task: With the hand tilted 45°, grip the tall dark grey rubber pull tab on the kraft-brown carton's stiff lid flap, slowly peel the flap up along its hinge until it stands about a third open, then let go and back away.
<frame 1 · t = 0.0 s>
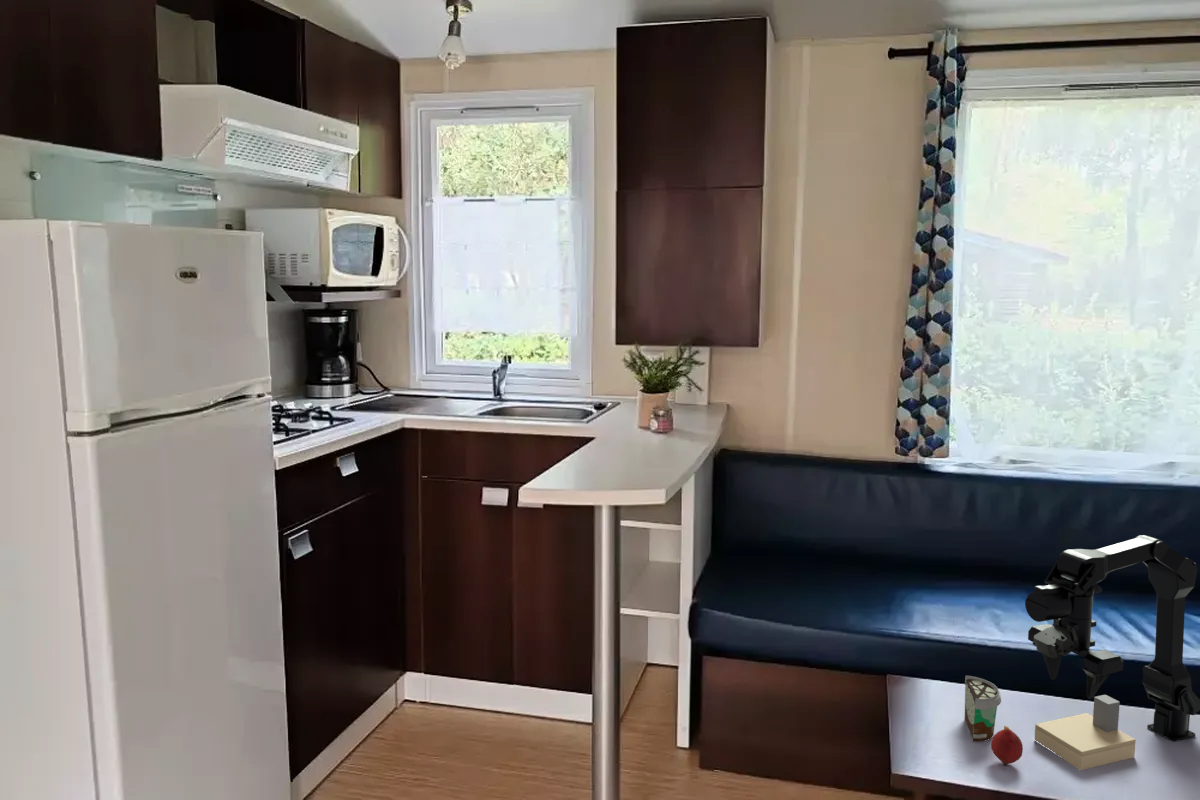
hand: (1071, 688, 186), 15 cm above the table, tool pointing down, fingers open, 9 cm apart
onion: (1005, 764, 185), on the table
food container: (983, 732, 198), on the table
carton flap: (1085, 719, 190), point 7 cm above the table, hinge at 0.0°
carton: (1083, 749, 190), on the table
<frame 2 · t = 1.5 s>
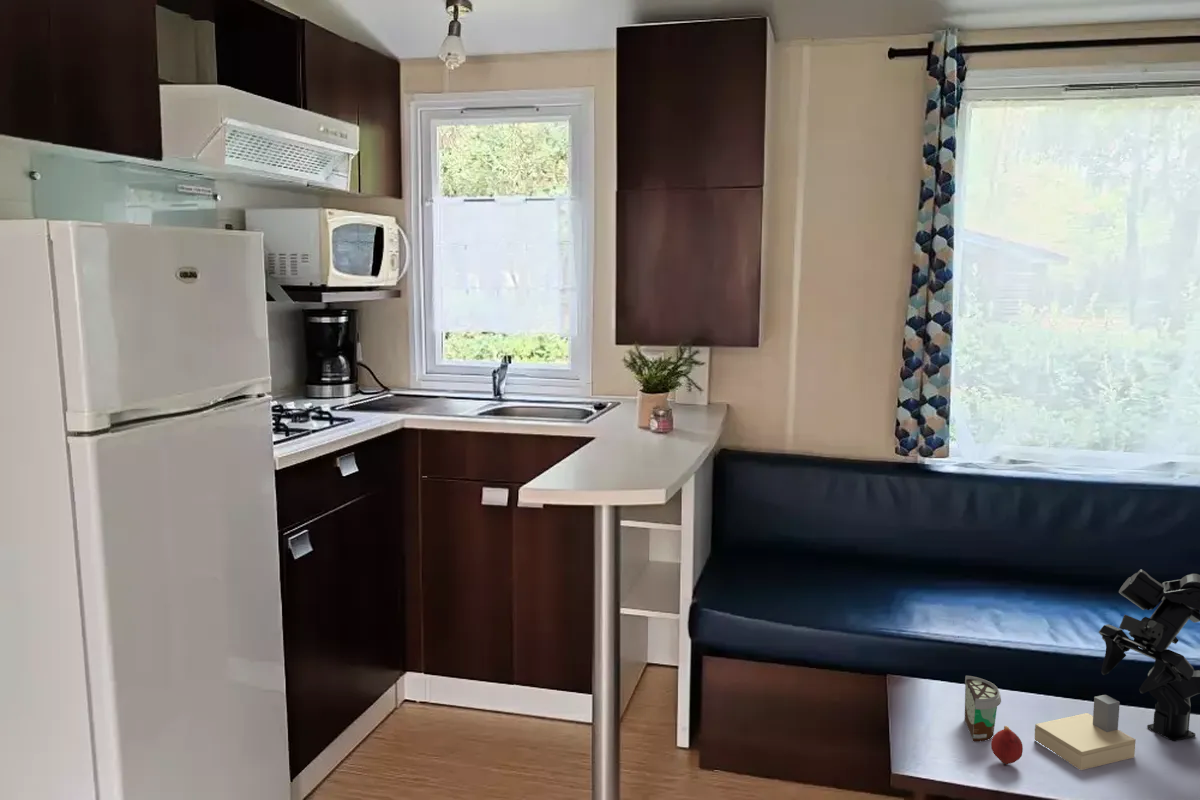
hand: (1121, 682, 191), 13 cm above the table, tool tilted 45°, fingers open, 9 cm apart
nothing on the table moved.
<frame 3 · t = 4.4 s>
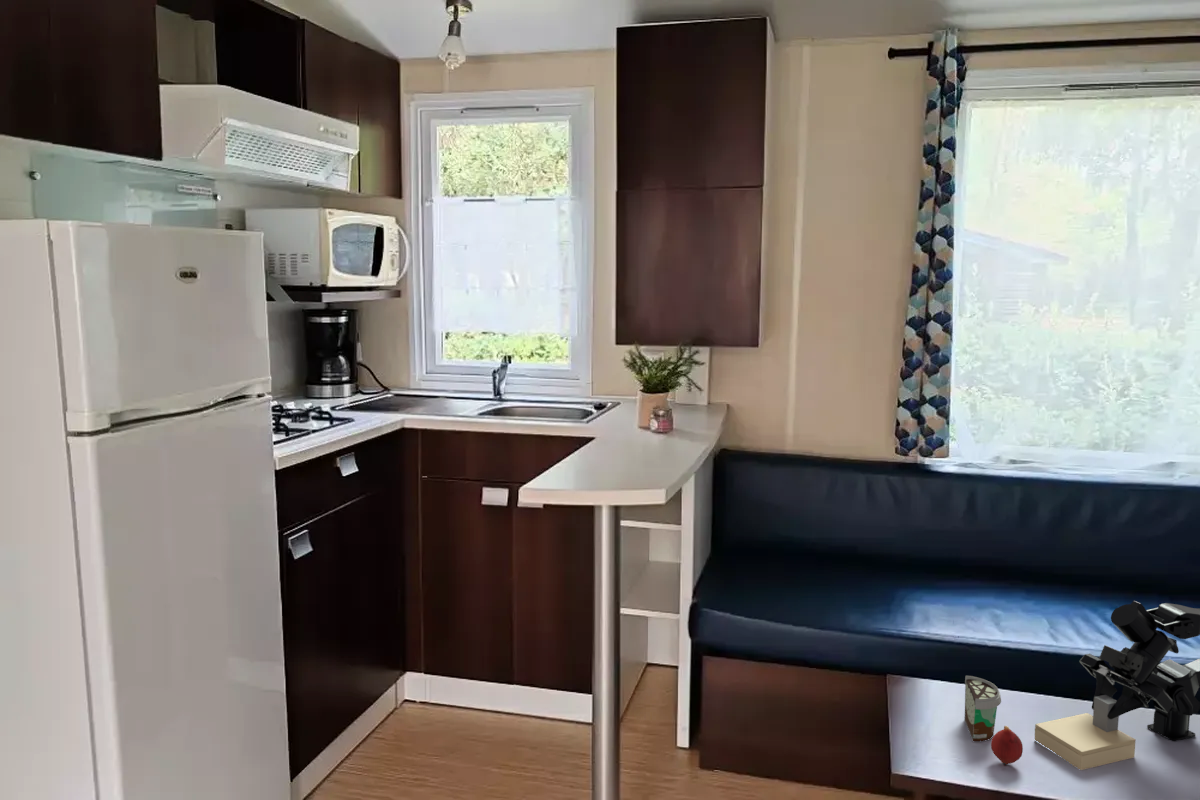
hand: (1100, 713, 191), 7 cm above the table, tool tilted 45°, fingers closed on carton flap, 3 cm apart
carton flap: (1085, 719, 190), point 7 cm above the table, hinge at 0.0°, touching gripper
everything else where it was.
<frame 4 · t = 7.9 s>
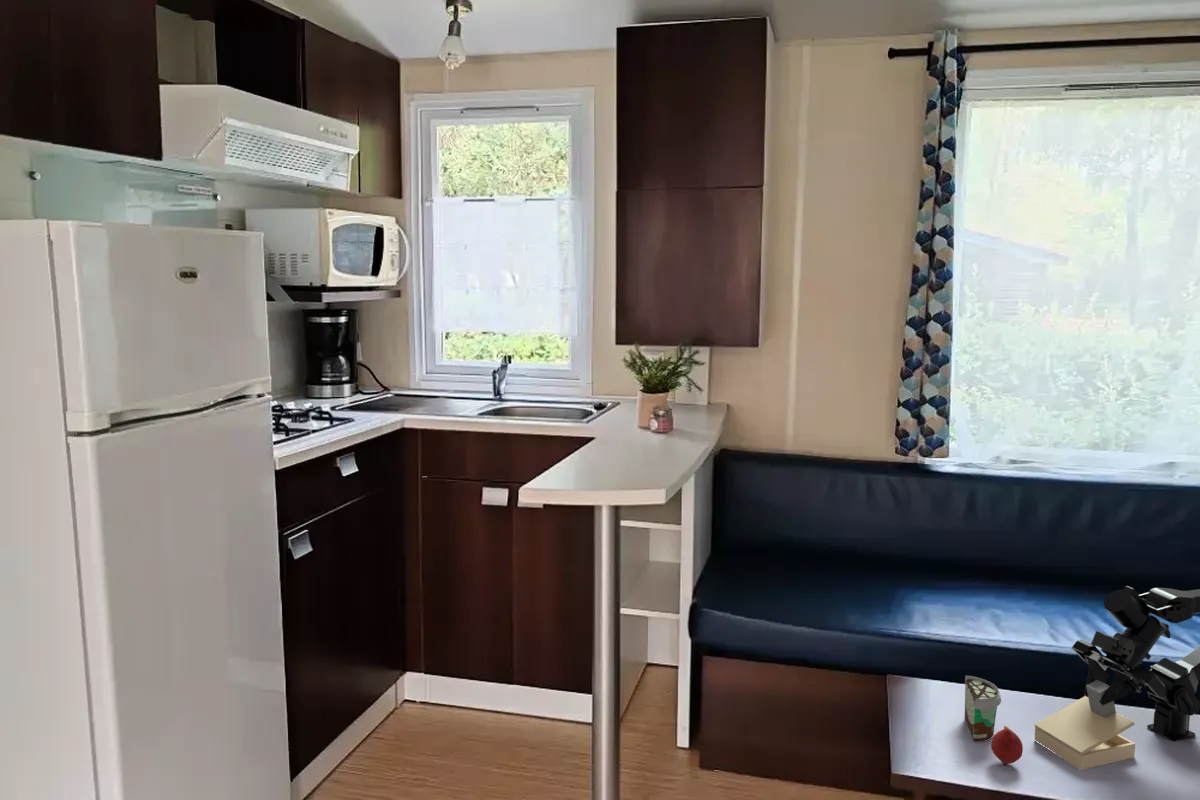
hand: (1093, 699, 190), 11 cm above the table, tool tilted 45°, fingers closed on carton flap, 3 cm apart
carton flap: (1080, 711, 189), point 8 cm above the table, hinge at 16.9°, touching gripper
everything else where it was.
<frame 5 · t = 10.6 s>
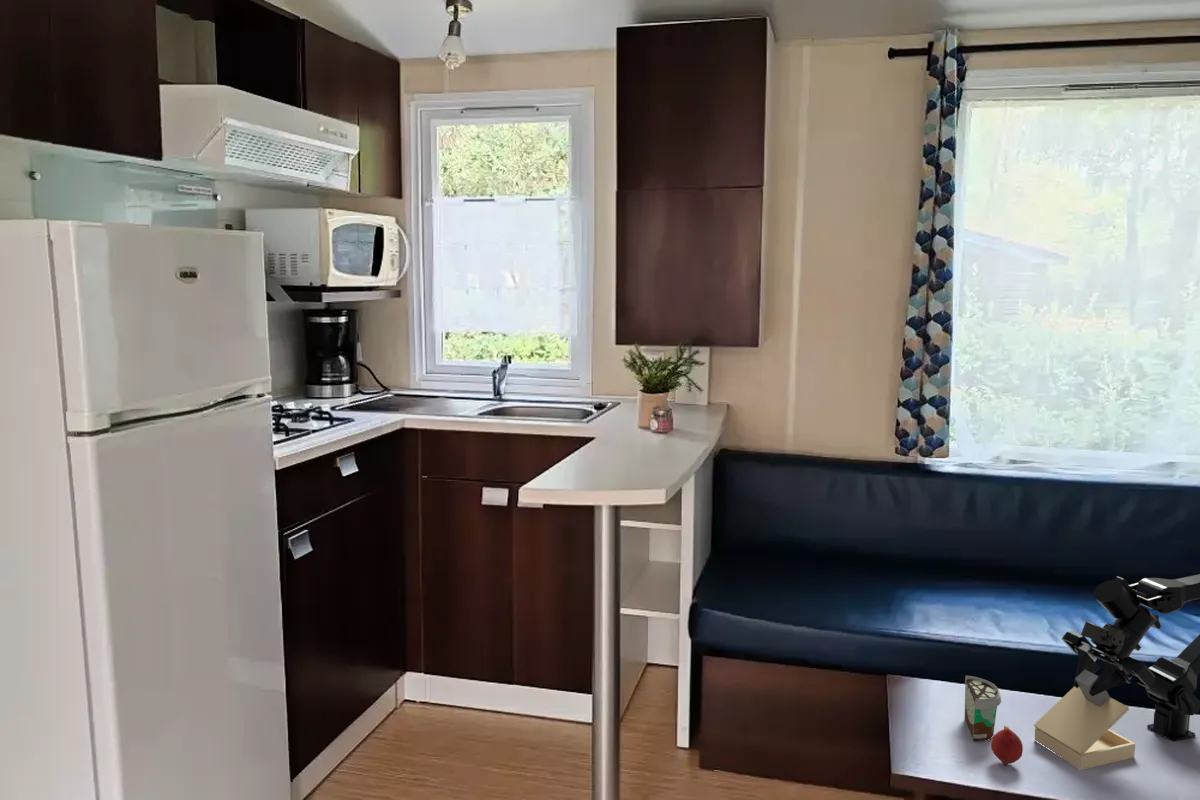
hand: (1082, 690, 188), 13 cm above the table, tool tilted 45°, fingers closed on carton flap, 3 cm apart
carton flap: (1074, 706, 188), point 10 cm above the table, hinge at 33.2°, touching gripper
everything else where it was.
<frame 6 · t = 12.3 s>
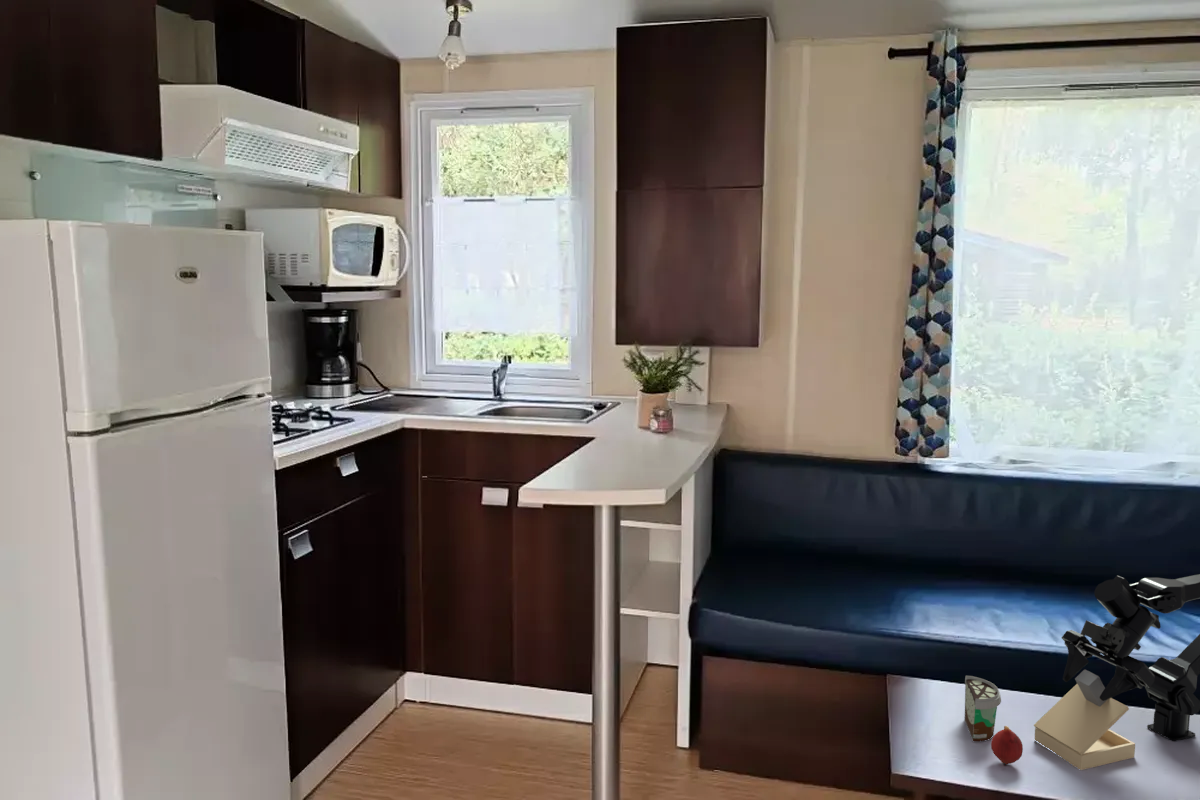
hand: (1082, 689, 188), 13 cm above the table, tool tilted 45°, fingers open, 9 cm apart
carton flap: (1074, 706, 188), point 10 cm above the table, hinge at 33.5°
everything else where it was.
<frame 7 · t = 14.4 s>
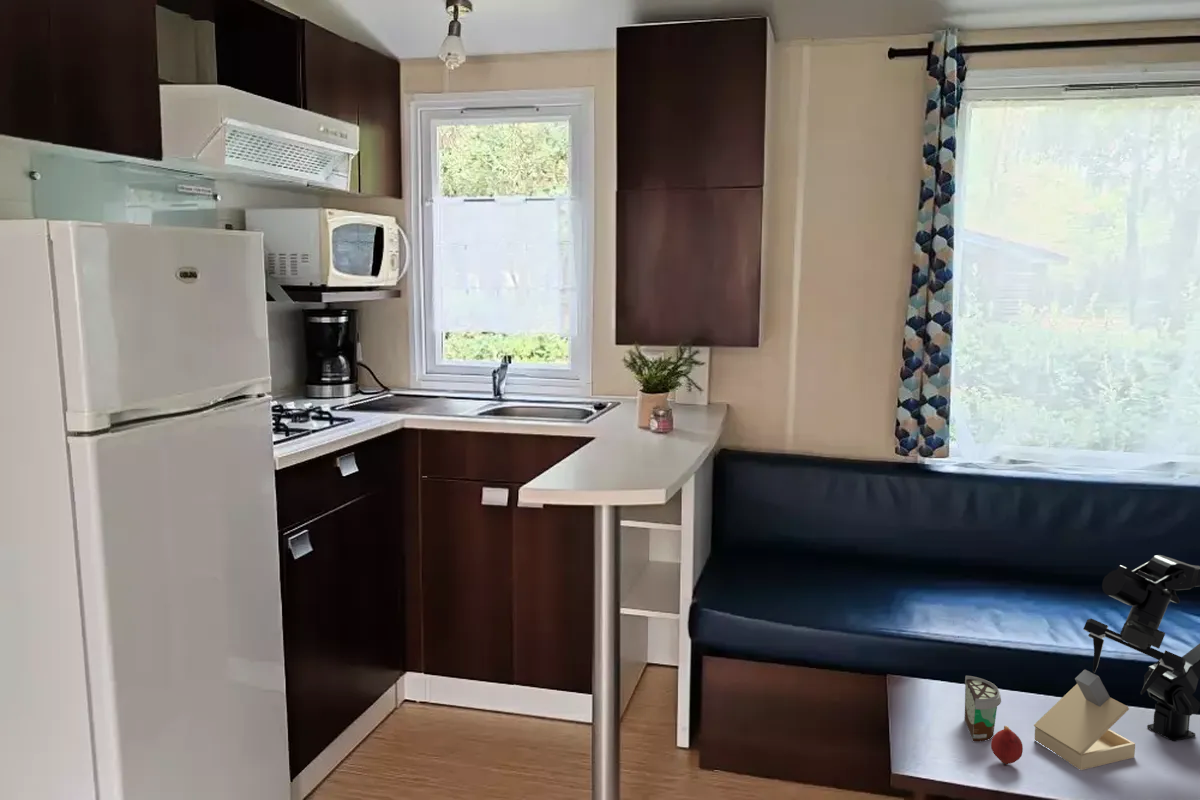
hand: (1117, 682, 191), 13 cm above the table, tool tilted 25°, fingers open, 9 cm apart
nothing on the table moved.
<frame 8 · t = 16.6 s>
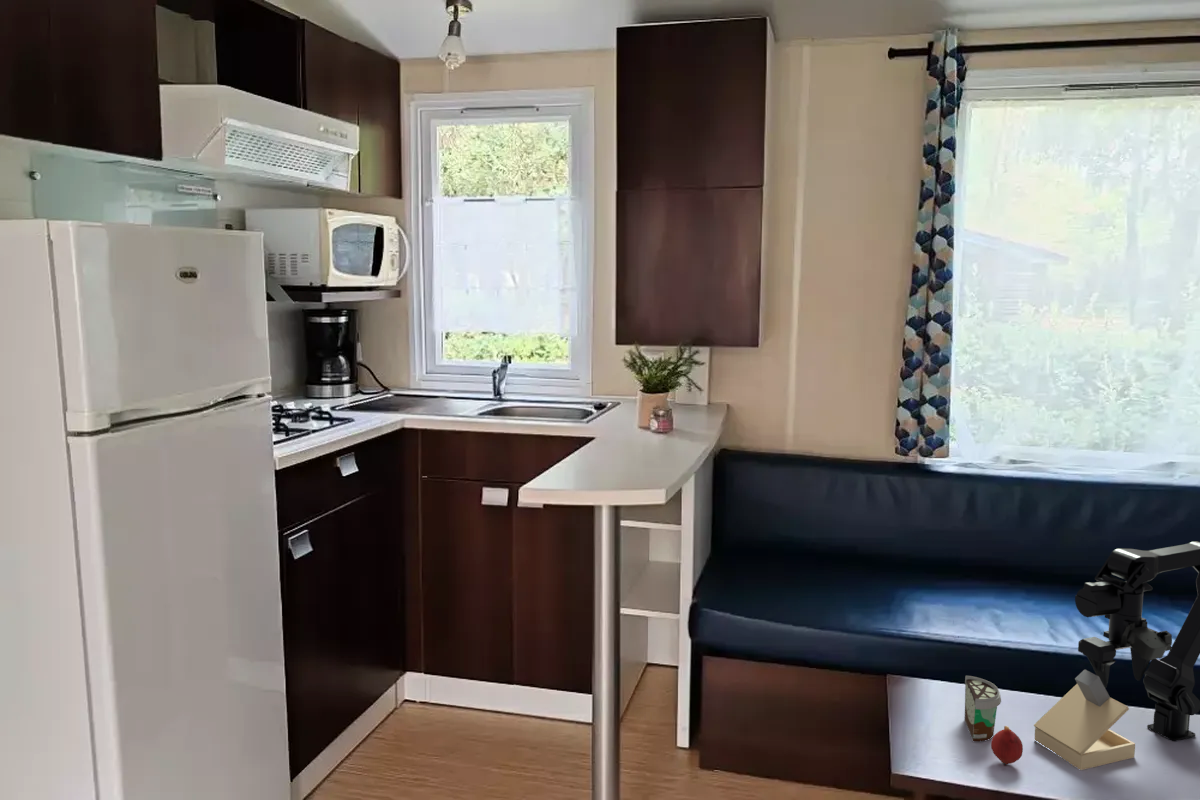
hand: (1120, 683, 191), 13 cm above the table, tool pointing down, fingers open, 9 cm apart
nothing on the table moved.
at the end: carton flap at +34° (first picture: +0°); the gripper is holding nothing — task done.
